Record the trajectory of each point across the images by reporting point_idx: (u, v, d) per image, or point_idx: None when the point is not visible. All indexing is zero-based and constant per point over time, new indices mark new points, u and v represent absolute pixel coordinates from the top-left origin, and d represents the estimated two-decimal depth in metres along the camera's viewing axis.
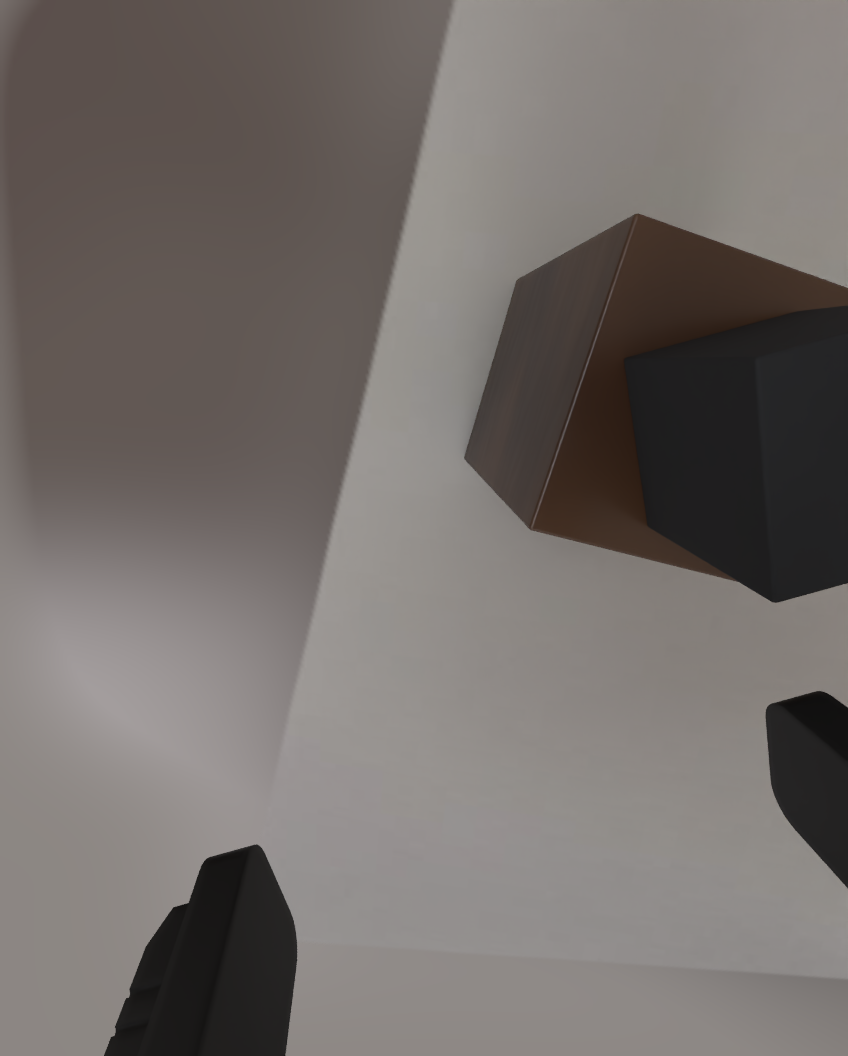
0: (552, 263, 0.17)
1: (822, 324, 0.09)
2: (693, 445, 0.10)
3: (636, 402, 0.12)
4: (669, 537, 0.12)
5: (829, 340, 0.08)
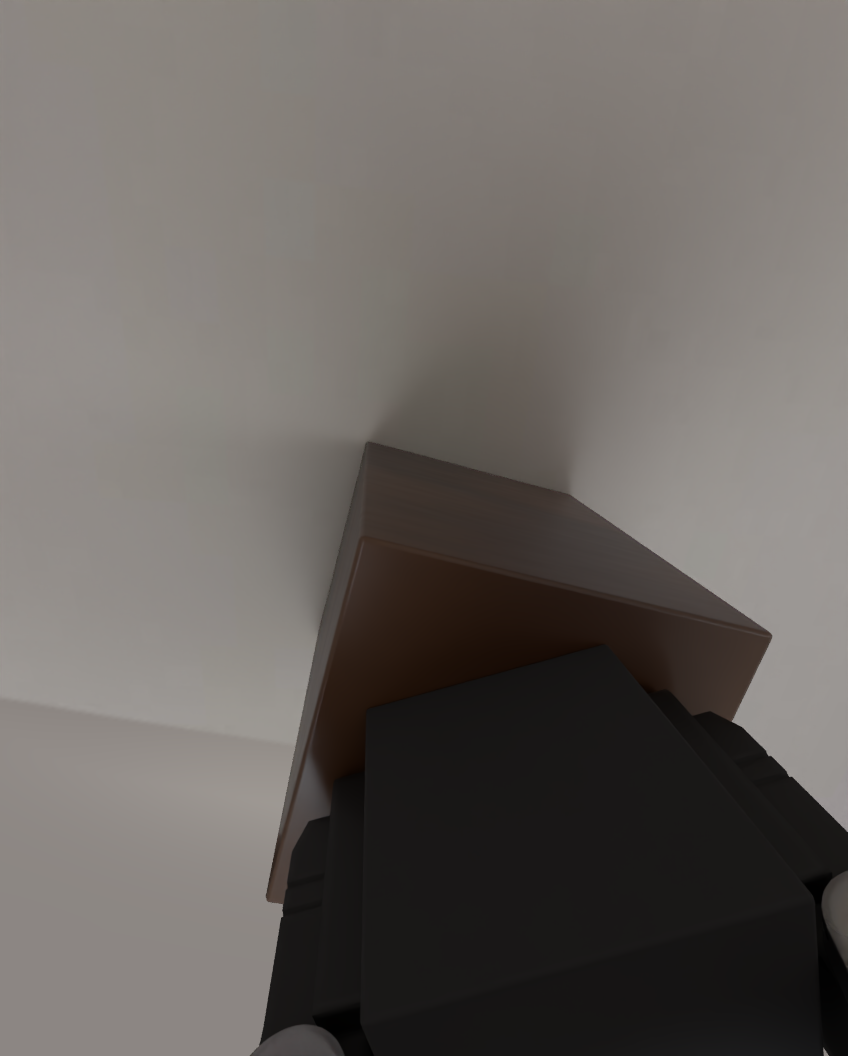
0: None
1: None
2: None
3: None
4: None
5: None
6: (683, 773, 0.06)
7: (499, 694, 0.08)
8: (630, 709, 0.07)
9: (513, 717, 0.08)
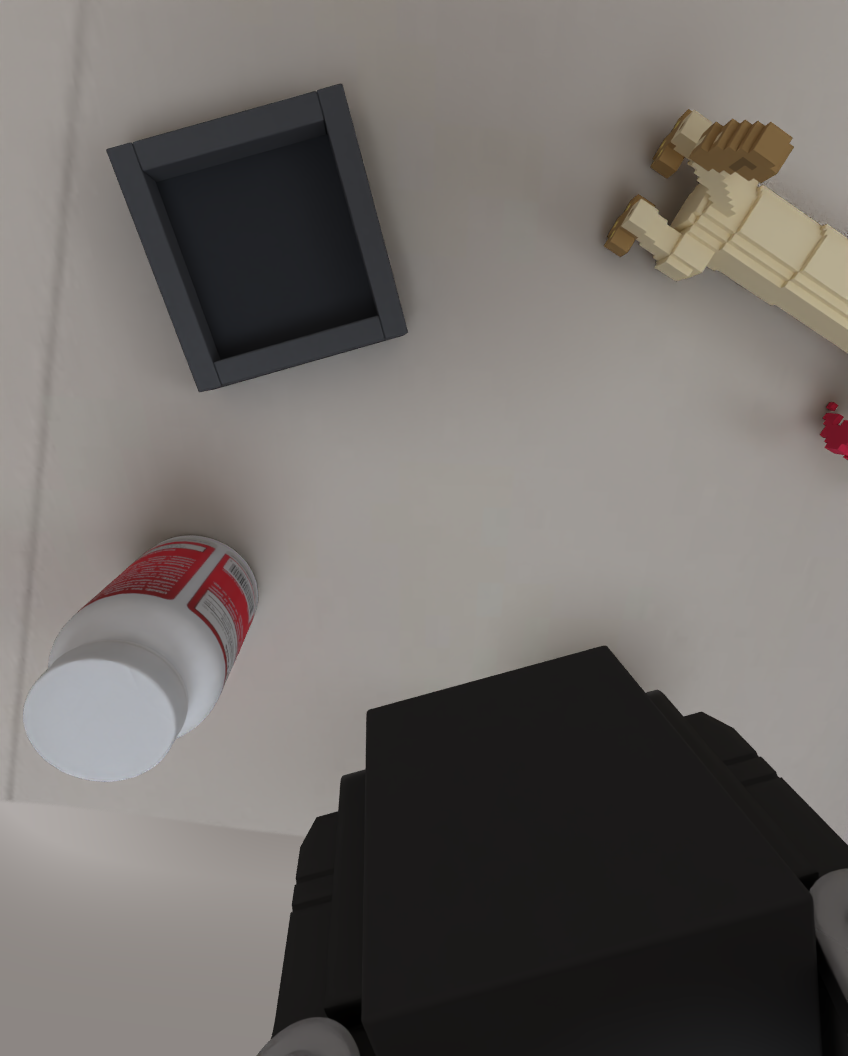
0: None
1: None
2: None
3: None
4: None
5: None
6: (682, 773, 0.06)
7: (499, 695, 0.08)
8: (630, 710, 0.07)
9: (513, 718, 0.08)
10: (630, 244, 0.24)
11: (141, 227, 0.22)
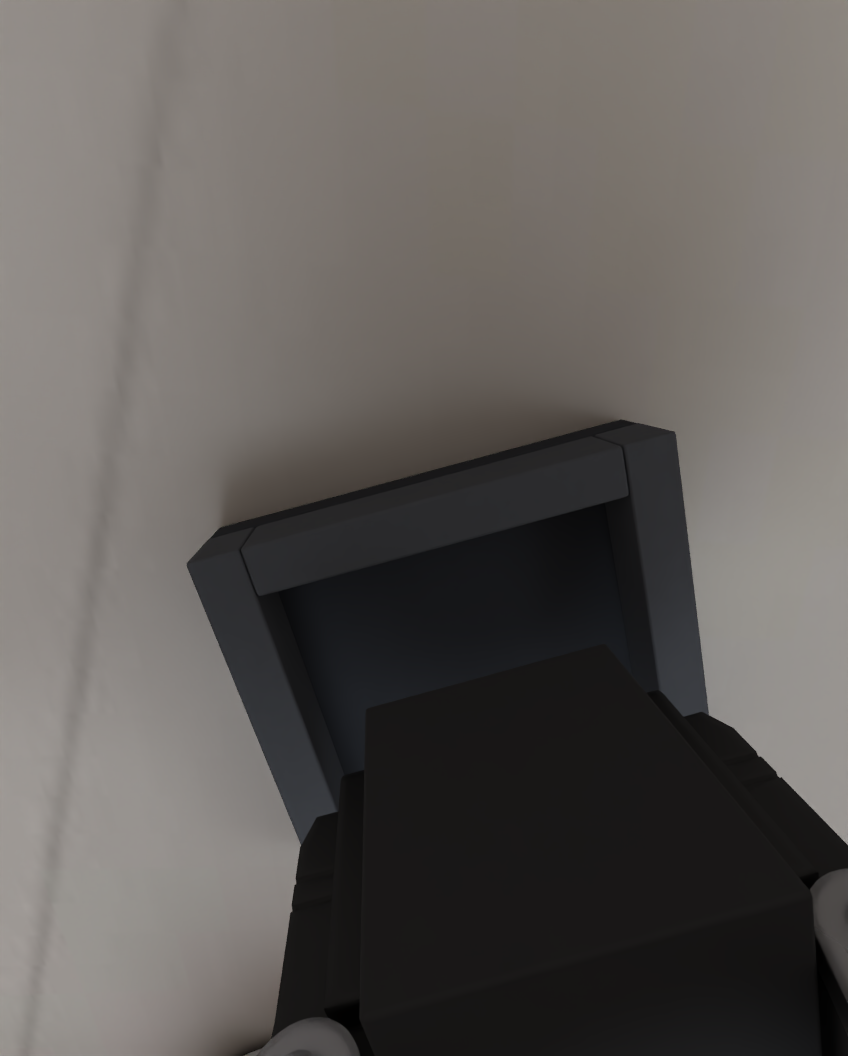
0: None
1: None
2: None
3: None
4: None
5: None
6: (682, 771, 0.06)
7: (498, 693, 0.08)
8: (629, 708, 0.07)
9: (512, 716, 0.08)
10: None
11: (248, 691, 0.11)
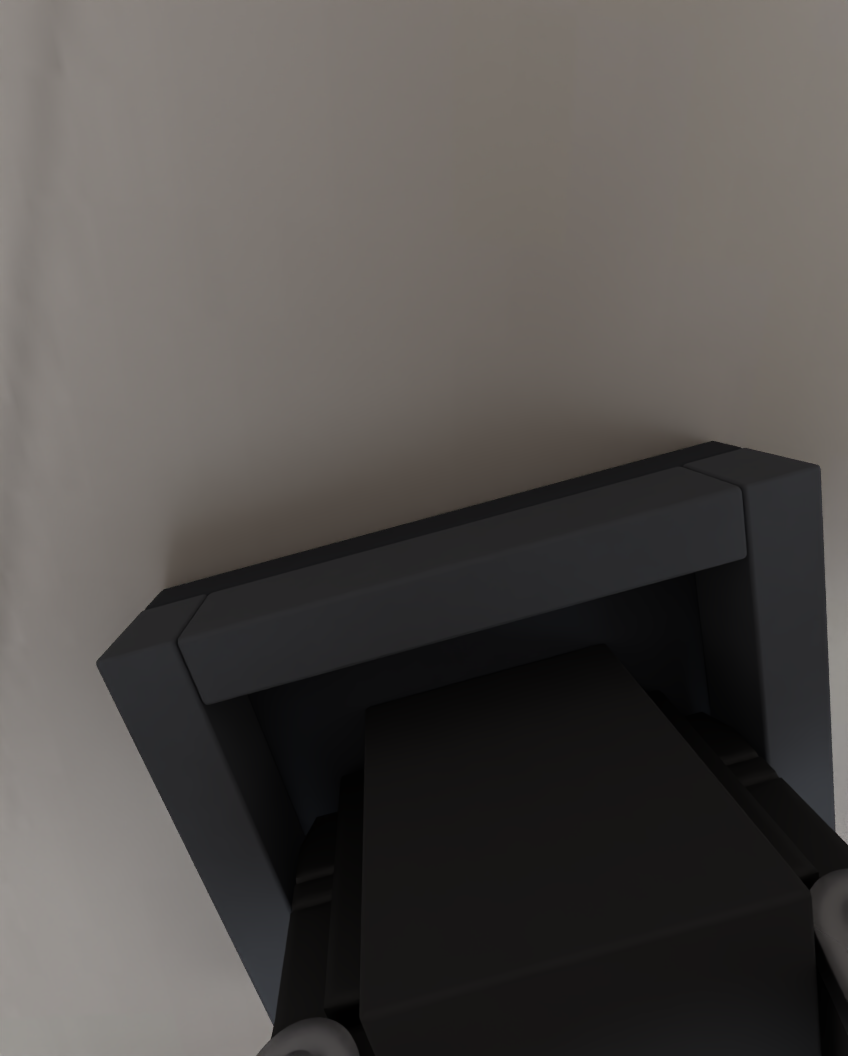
0: None
1: None
2: None
3: None
4: None
5: None
6: (681, 770, 0.06)
7: (498, 693, 0.08)
8: (628, 707, 0.07)
9: (512, 716, 0.08)
10: None
11: (195, 833, 0.08)
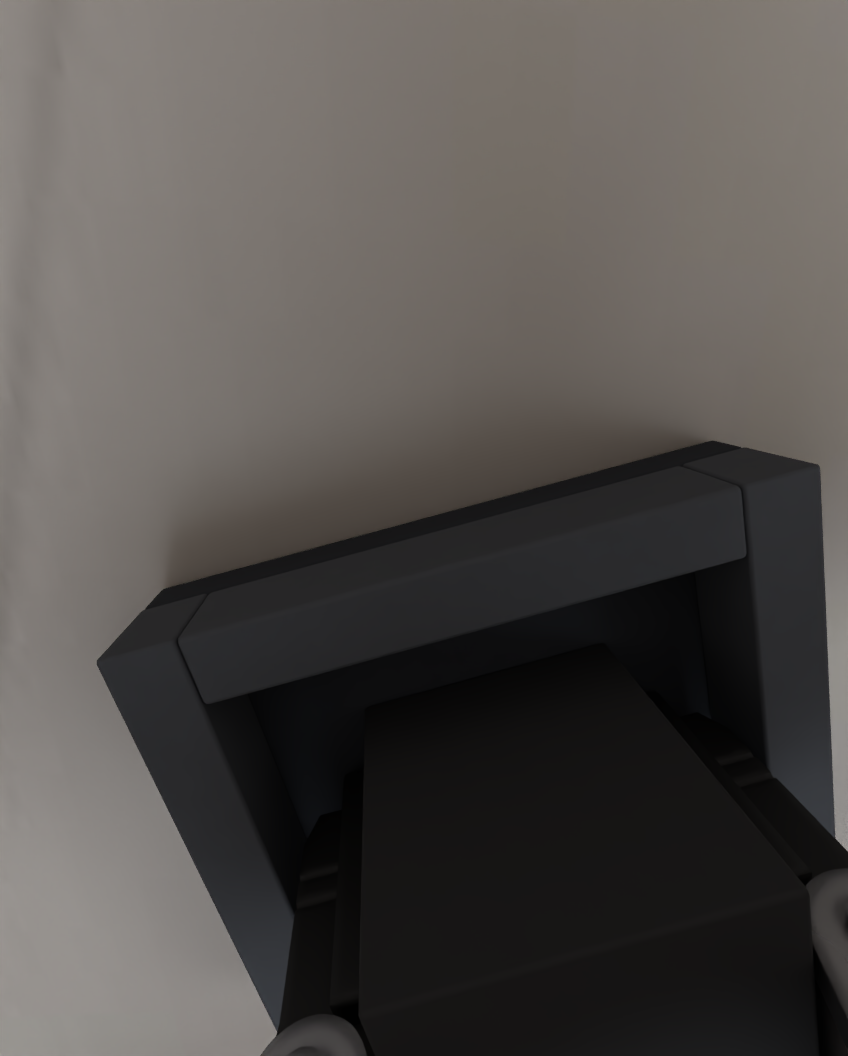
0: None
1: None
2: None
3: None
4: None
5: None
6: (680, 770, 0.06)
7: (497, 693, 0.08)
8: (628, 707, 0.07)
9: (511, 715, 0.08)
10: None
11: (195, 833, 0.08)
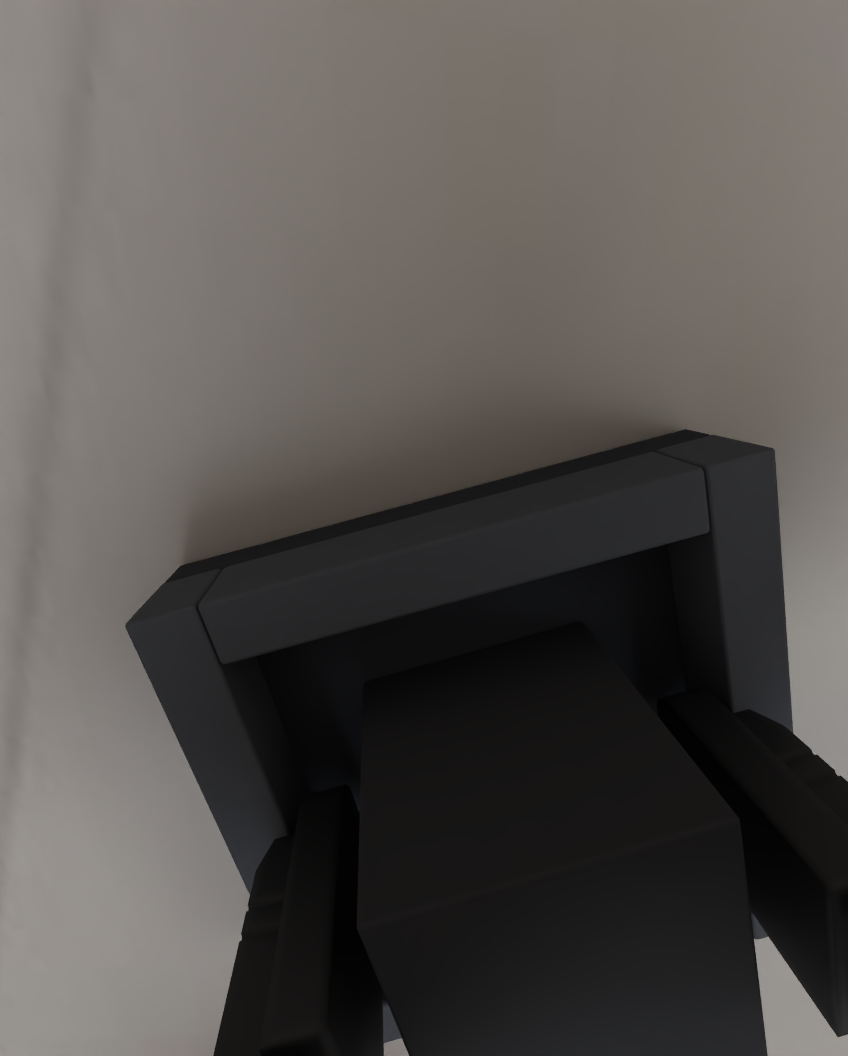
0: None
1: None
2: None
3: None
4: None
5: None
6: (640, 726, 0.07)
7: (483, 667, 0.09)
8: (598, 676, 0.08)
9: (495, 685, 0.09)
10: None
11: (212, 783, 0.08)
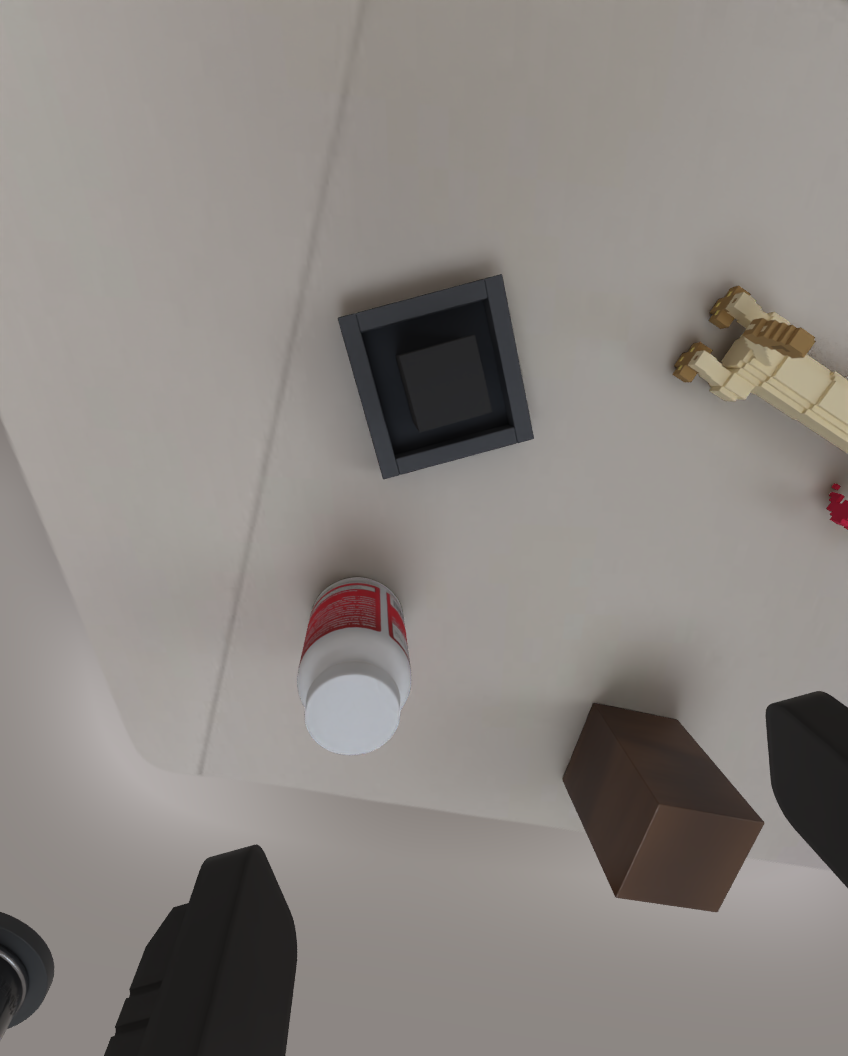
0: None
1: (406, 391, 0.30)
2: None
3: None
4: None
5: (414, 411, 0.29)
6: None
7: None
8: None
9: None
10: (693, 376, 0.34)
11: (356, 368, 0.31)
